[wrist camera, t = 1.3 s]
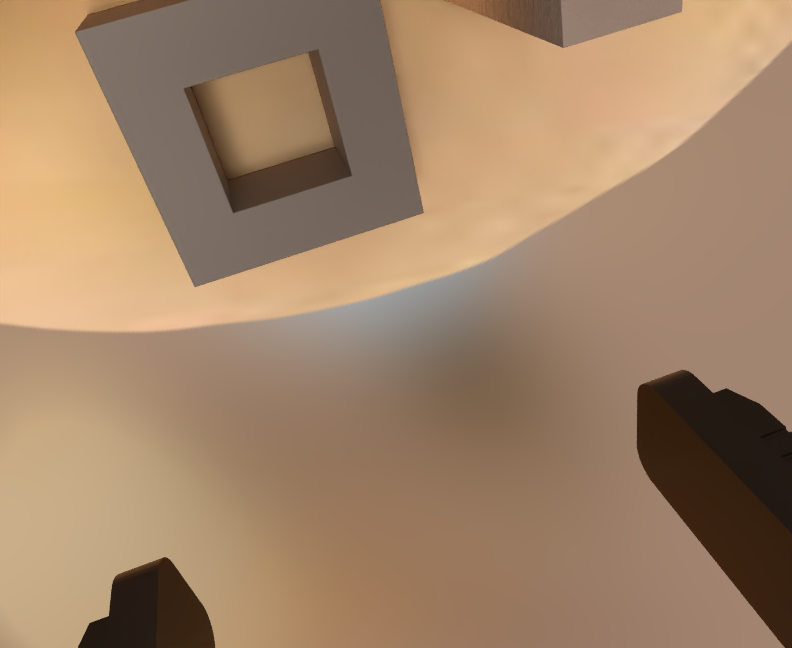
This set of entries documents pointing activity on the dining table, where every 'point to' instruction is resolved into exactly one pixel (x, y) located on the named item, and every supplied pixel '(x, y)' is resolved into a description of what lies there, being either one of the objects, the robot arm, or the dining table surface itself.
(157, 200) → the socket block
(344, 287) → the dining table surface
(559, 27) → the square bit
